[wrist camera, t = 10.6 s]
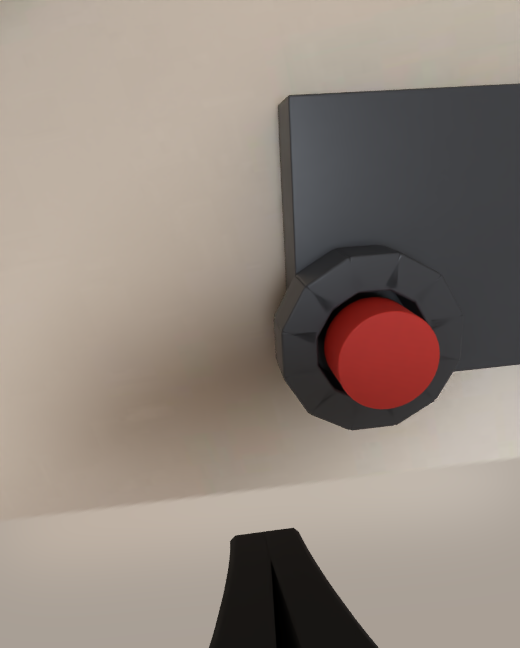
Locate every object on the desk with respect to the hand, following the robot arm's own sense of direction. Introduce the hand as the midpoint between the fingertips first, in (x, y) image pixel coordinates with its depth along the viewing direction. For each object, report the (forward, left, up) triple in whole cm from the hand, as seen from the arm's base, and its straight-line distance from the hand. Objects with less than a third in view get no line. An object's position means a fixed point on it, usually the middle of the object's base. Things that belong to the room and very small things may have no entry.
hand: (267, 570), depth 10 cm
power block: (+4, -12, -10) cm, 16 cm away
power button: (+2, -5, -7) cm, 8 cm away
